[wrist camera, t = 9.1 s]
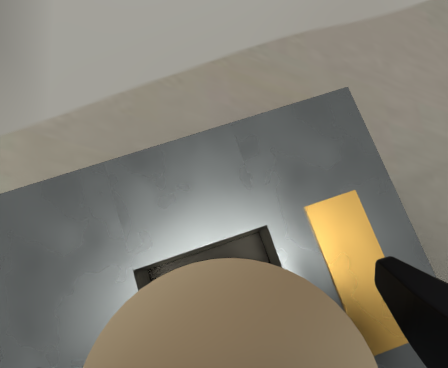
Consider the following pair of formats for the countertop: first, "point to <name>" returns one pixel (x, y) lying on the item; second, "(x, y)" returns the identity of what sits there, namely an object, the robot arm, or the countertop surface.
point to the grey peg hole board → (205, 227)
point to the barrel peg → (230, 322)
